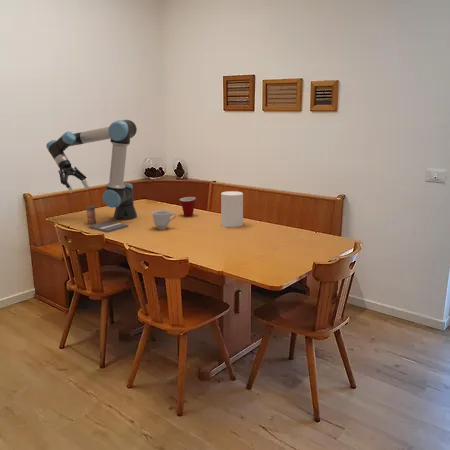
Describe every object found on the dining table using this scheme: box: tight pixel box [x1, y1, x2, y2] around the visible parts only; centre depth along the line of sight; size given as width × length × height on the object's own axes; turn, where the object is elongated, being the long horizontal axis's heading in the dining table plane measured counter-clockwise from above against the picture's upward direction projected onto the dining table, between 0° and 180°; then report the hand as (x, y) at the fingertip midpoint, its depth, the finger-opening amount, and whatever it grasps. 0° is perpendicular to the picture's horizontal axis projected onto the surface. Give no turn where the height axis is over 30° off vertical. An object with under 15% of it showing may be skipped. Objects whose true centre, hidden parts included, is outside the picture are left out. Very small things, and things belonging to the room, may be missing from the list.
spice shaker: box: [85, 205, 97, 226], centre depth 308 cm, size 5×5×11 cm
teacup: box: [151, 209, 177, 230], centre depth 297 cm, size 12×15×10 cm
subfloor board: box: [88, 220, 129, 233], centre depth 300 cm, size 16×18×1 cm
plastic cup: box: [179, 196, 196, 218], centre depth 328 cm, size 11×11×12 cm
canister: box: [220, 190, 244, 228], centre depth 304 cm, size 14×14×20 cm
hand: (80, 190), depth 307 cm, fingers open, 13 cm apart
